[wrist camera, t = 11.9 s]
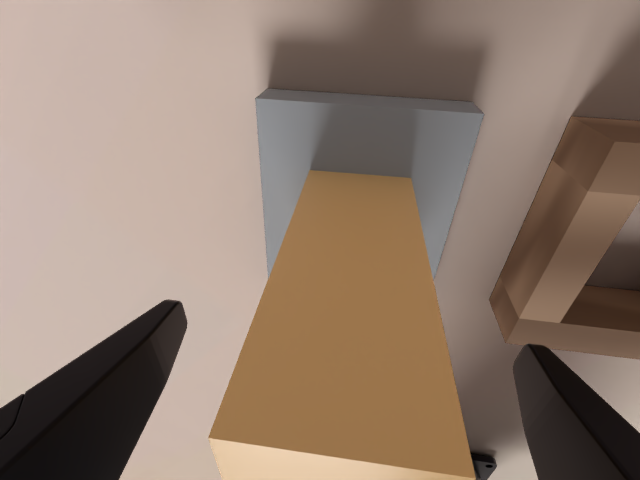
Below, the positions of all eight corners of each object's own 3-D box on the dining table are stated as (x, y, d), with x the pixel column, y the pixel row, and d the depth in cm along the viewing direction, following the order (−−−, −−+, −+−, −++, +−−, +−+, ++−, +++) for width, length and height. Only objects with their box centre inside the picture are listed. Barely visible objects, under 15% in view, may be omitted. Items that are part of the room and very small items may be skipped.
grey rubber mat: (418, 296, 17) (422, 319, 15) (277, 280, 17) (269, 301, 16) (472, 101, 11) (484, 114, 10) (267, 88, 12) (255, 98, 11)
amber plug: (391, 277, 14) (411, 570, 7) (308, 269, 14) (242, 540, 7) (410, 178, 12) (475, 479, 4) (309, 170, 12) (207, 438, 5)
